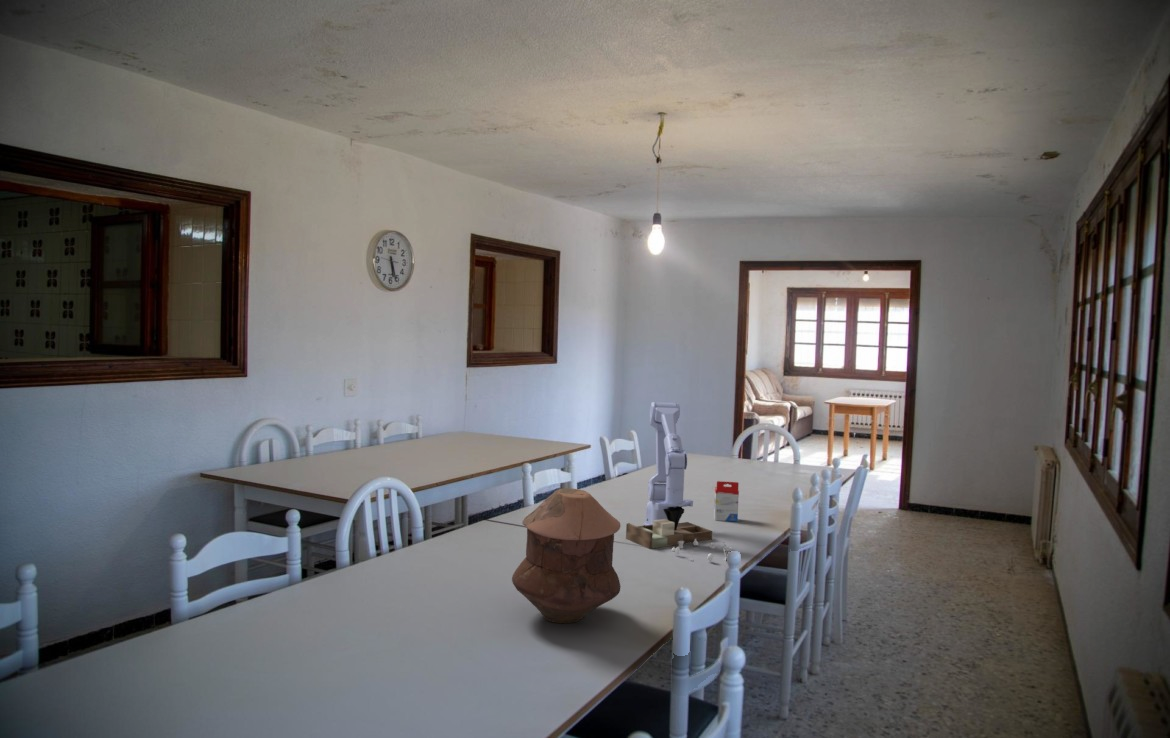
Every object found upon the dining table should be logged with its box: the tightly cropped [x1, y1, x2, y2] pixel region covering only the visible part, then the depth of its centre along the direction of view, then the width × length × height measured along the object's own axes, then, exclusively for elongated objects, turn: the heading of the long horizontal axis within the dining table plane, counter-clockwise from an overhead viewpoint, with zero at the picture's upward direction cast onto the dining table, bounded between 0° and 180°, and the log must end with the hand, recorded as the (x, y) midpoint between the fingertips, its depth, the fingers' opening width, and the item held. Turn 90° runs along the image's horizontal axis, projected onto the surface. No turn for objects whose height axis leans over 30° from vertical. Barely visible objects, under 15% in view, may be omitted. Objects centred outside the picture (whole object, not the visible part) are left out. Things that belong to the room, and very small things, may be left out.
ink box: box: [713, 480, 740, 523], centre depth 284 cm, size 8×5×15 cm, turn 84°
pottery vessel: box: [511, 487, 621, 624], centre depth 180 cm, size 26×26×30 cm
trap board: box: [625, 521, 713, 550], centre depth 254 cm, size 15×26×5 cm, turn 122°
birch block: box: [652, 519, 675, 536], centre depth 249 cm, size 5×5×4 cm
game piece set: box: [671, 539, 734, 564], centre depth 238 cm, size 19×20×4 cm
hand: (672, 529), depth 251 cm, fingers closed
